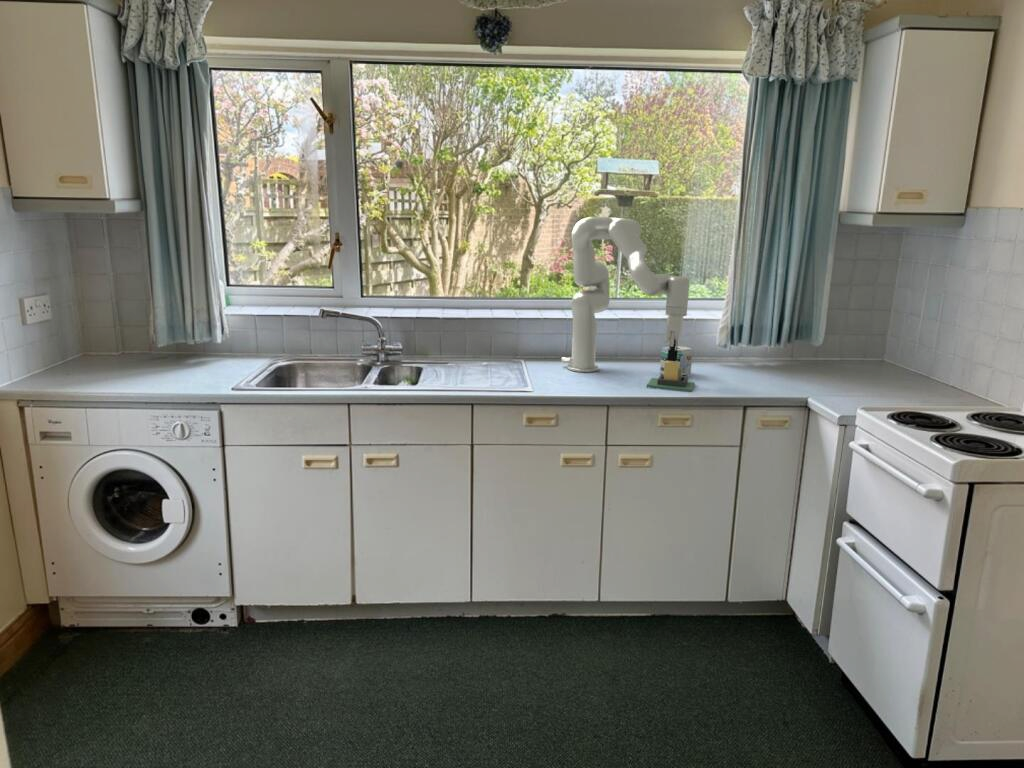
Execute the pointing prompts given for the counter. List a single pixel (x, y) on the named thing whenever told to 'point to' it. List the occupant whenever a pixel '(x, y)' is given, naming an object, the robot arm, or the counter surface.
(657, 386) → the header board
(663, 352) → the light bulb box
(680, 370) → the keyed plug
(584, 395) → the counter surface
